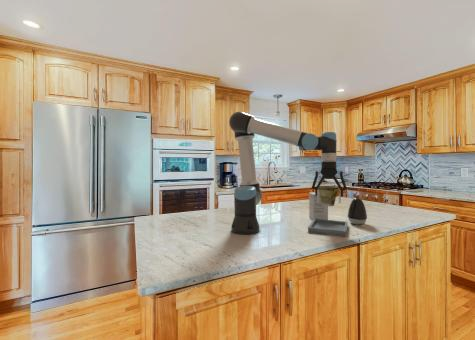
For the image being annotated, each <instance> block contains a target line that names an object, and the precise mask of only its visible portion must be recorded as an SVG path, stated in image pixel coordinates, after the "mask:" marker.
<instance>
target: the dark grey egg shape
mask: <svg viewBox="0 0 475 340" xmlns="http://www.w3.org/2000/svg"><path fill="white" fill-rule="evenodd" d="M367 213H368V212H367V210H366V206H365V203H364V201H363V199H361V198H360V197H355V198H353V199H352V200H351V202H350V203H349V208H348V211H347V218H348V221H349V223H351V225H352V224H353V225H359V226H362V225H363V224H365V223H366V222H367V219H368V214H367Z"/></svg>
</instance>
